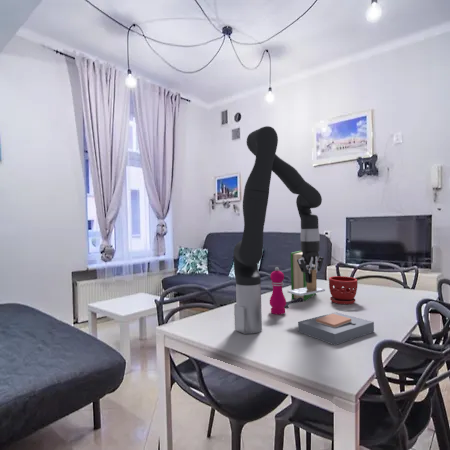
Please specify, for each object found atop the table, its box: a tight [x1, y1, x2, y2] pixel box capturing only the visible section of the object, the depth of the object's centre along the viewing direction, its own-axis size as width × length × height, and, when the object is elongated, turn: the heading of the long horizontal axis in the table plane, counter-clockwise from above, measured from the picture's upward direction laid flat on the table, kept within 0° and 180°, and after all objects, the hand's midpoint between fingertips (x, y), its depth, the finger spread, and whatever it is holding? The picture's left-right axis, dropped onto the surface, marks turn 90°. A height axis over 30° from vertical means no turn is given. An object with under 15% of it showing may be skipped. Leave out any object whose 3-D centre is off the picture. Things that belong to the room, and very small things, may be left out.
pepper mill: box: [269, 266, 287, 315], centre depth 139 cm, size 7×7×20 cm
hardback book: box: [290, 250, 317, 302], centre depth 169 cm, size 18×7×24 cm, turn 148°
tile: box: [316, 313, 351, 328], centre depth 112 cm, size 9×8×1 cm
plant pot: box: [328, 275, 359, 306], centre depth 154 cm, size 13×13×12 cm
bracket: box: [284, 297, 304, 309], centre depth 156 cm, size 14×15×3 cm
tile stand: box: [297, 311, 375, 346], centre depth 113 cm, size 21×16×4 cm
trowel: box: [287, 269, 326, 296], centre depth 128 cm, size 14×7×9 cm, turn 122°
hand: (311, 282), depth 129 cm, fingers closed on trowel, 2 cm apart
